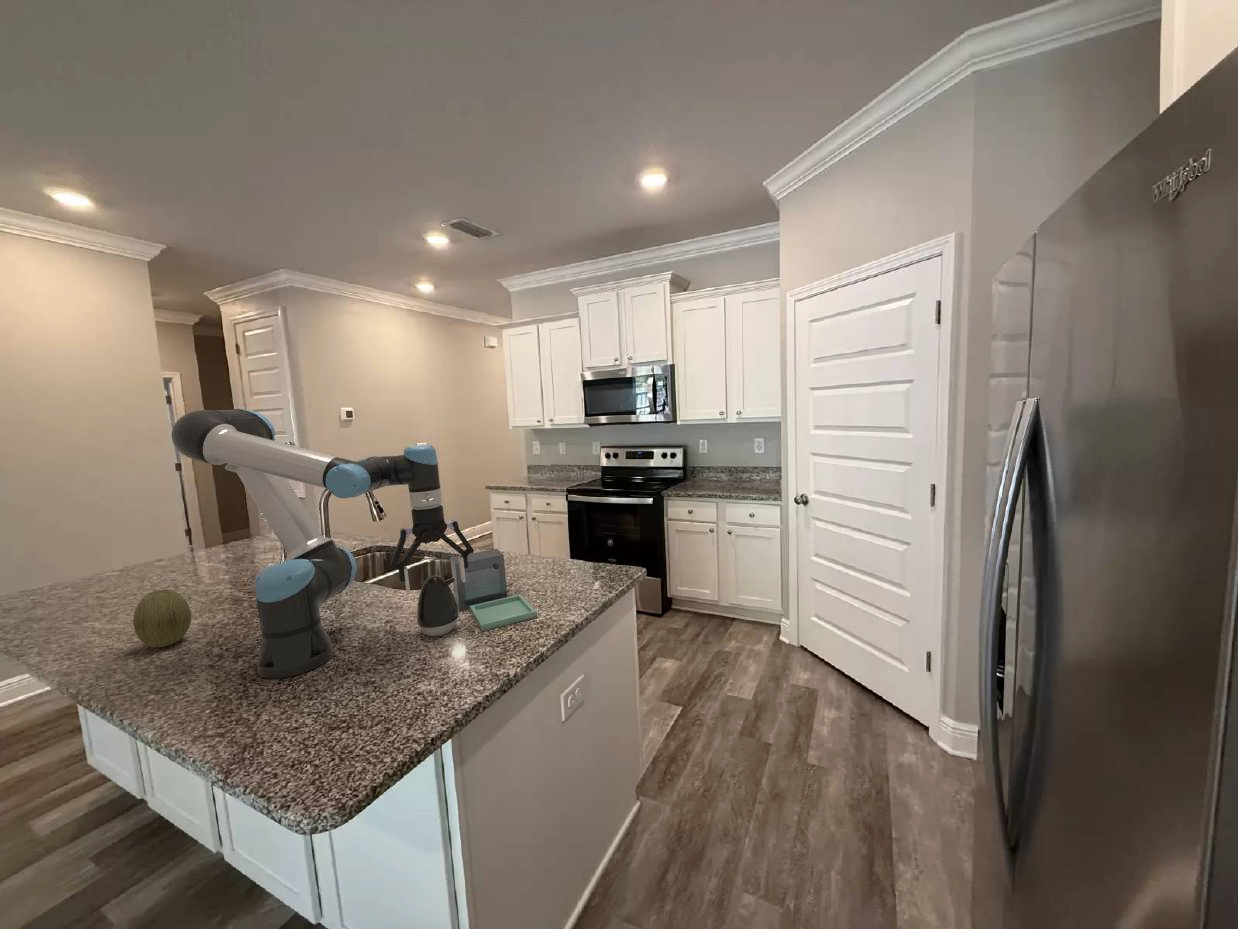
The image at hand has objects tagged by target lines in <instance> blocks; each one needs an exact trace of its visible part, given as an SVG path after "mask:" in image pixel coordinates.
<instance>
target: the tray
mask: <svg viewBox="0 0 1238 929" xmlns="http://www.w3.org/2000/svg"><path fill="white" fill-rule="evenodd" d="M469 612H470V614H471V616H472V617H473V619H474V620H475V623H477V626H478V627H479V630H481V633H483V632H486V631H491V630H494V629H498V628H502V627H505V626H506V627H507V626H509V625H514V624H519V623H522V622H525V621H526V622H527V621H529V620H533V619H537V618H538V610H536V608H534V606H533V605H532V604H531V603H529V601H528V600H527V599H526V598H525V597H524V596H523V595H522V593H521V594H516V595H515V594H514V595H511V596H507V597H506V598H502V599H498V600H493V601H489V602H485V603H480V604H476V605H472V606H470V609H469Z"/></svg>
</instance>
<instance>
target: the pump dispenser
mask: <svg viewBox="0 0 1238 929" xmlns="http://www.w3.org/2000/svg"><path fill="white" fill-rule="evenodd" d="M454 581H455V579H454V578H449V579H444V578H443V577H442V576H440V575H430V576H429V577H427V578H426V579H425V580H424V582H423V584H422V586H421V589H420V592H419V596H418V600H417V605H416V624H417V625H418V627H419V628H420V631H421V632H422V633H423V634H425V635H426V636H429V637H441V636H444V635H447V634H448V633H450V632H452V630H453V629H454V628H455V627H456V624H457V622H458V618H459V609H458V607H457V604H456V601H455V598H454V592H453V591H452V589H451V587H450V585H451V584H453V582H454Z"/></svg>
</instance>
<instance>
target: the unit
mask: <svg viewBox="0 0 1238 929" xmlns="http://www.w3.org/2000/svg"><path fill="white" fill-rule="evenodd" d="M458 556H462V555H461V554H459V555H456V556H450V559H449V560H450V567H451V576H452V578H454V579H455V581H454V582H453V583H452V586H453V587H452V588H453V595H454V598H455V601H456V604H457V608H458V612H462V611H465V610H470V606H472V605H476V604H480V603H485V602H489V601H493V600H498V599H502V598H506V597H508V590H507V579H506V577H507V576H506V566H505V555H504V554H503V552H501V551H500V550H499V549H498V548H494V549H487V550H482V551H477V552H473V553H471V554H469V555H468V557H467V559H468V568H465V578H466V582H462V580H461V574H460V565H459V557H458Z"/></svg>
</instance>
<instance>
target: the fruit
mask: <svg viewBox="0 0 1238 929" xmlns="http://www.w3.org/2000/svg"><path fill="white" fill-rule="evenodd" d="M191 622H192V611H191V608H190V604H189V603H188V602H187V600H186V599H185V598H184V596H182V595H181V594H180V593H178V592H177V591H174V590H172V589H161V590H160V589H159V590H155V591H152V592H150V593H148V594H146V595H145V596H143V598H141V599H140V600H139V602H138V603H137V605H136V608H135V610H134V613H133V629H134V633H135V635H136V636H137V638H138V639H139V640H140V642H141V643H142V644H144V645H146V646H149V647H151V648H164V647H165V646H166V647H169V646H171V645H173V644H174V645H175V643H177V642H179V641H181V640H182V639H183V637H185V636H186V634H187V632H188V631H189V629H190V626H191Z"/></svg>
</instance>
